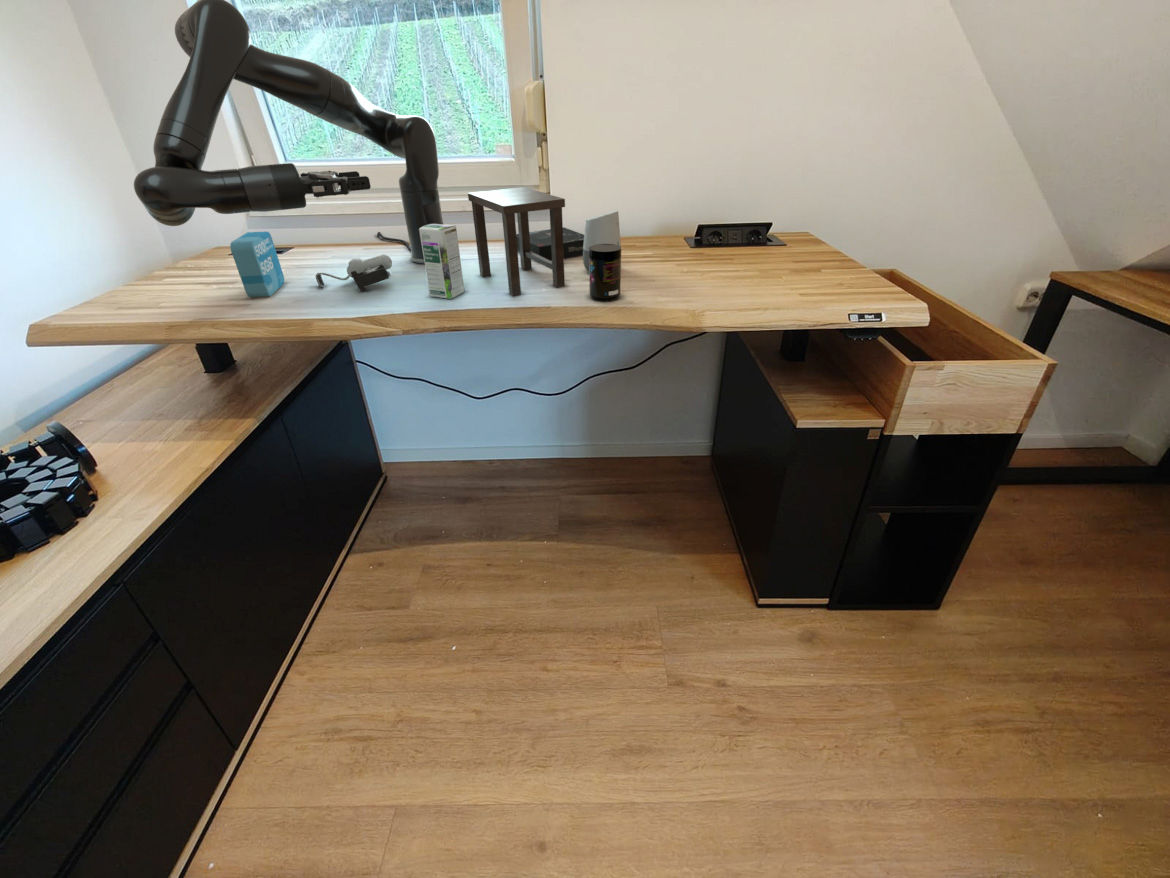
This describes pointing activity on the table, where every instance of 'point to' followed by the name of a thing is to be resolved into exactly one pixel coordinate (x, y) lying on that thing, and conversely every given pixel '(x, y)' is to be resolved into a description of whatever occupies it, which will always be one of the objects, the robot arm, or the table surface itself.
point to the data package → (257, 264)
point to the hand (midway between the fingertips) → (364, 179)
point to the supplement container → (605, 271)
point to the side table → (521, 204)
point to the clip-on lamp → (364, 271)
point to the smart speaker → (600, 233)
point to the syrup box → (442, 260)
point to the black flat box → (542, 243)
